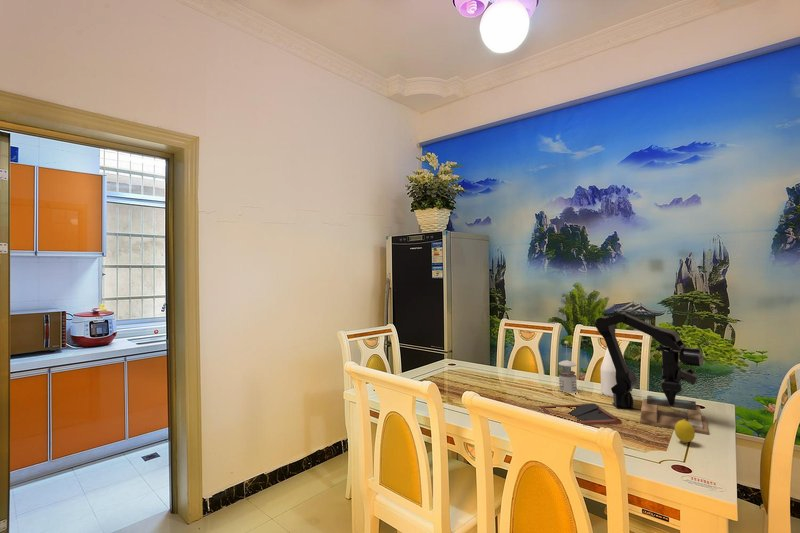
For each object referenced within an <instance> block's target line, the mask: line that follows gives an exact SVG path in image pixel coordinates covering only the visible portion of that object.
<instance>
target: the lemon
mask: <svg viewBox="0 0 800 533" xmlns="http://www.w3.org/2000/svg"><path fill="white" fill-rule="evenodd" d="M674 433H675V436H676V437H677V439H678V440H680V442H681V441H682V443H683V444H687V443H689V442H692V441H693V440H694V439H695V434H696V433H695V432H694V428H693V426H692V425H691V423H689V422H688V421H686V420H684V419H683V420H680V421H678V422H677V423H676V425H675V429H674Z"/></svg>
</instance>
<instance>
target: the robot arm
mask: <svg viewBox="0 0 800 533" xmlns="http://www.w3.org/2000/svg"><path fill="white" fill-rule="evenodd" d="M621 323H622V324H623V325H627V326H629V327H631V328H634V329H635V330H638V331H640V332H642V333H644V334H646V335H648V336H650V337H651V338H653V339H654V340H655V341H656V342H657V343H659V346H657V347H656V348H655V351H658V352H659V351H660V352H661V372H662V373H661V378H662V380H661V383H660V384H661V390H662V391H663V394H664V395H665V398H667V400H668V402H669V404H670V405H671V406H674V402H675V399H676V397H677V394H678V393H680V392H681V391H682V384H681V382H682V381H684V382H687V383H690V385H692V386H694V385H696V382H697V381H698V378H699V377H698V375H697V374H696V373H694V370H693V369H691V368H687V369H682V368H681V366H680V363H681V364H682V365H684V366H685V365H686V366H692V367H700V368H702V367H703V366H704V365H703V364H704V356H703V352H702V349H701V348H695V347H694V348H693V347H687V345H686V344H685V342H683V341H682V340H681V337H680V334H679V333H678V332H677V331H675V330H672V329H669V328H665V327H661V326H659V327H658V326H656V325H653V324H651V323H649V322H647V321H645V320H642V319H641V318H639V317H638V318H637V317H635V316H633V315H631V314H629V313H628V312H624V311H623V312H620V313H618V314H616V315H611V316H607V315H606V316H602V317H601V316H600V317H598V318H596V319H595V322H594V326H595V328H596V330H597V332H598V333H599V334H600V335H601V336H602V338H603V339H604V342H605V345H606V349H607V348H608V350H609V353H610V356H611V359H612V361H613V364H614V367H615V369H616V383H617V384H616V385H615V386H613V387H612V388H611V390H612V393H613V397H612V398H613V402H612V403H611V404H612V405H613V407H615V408H617V409H619V410H620V409H621V410H622V409H623V410H634V398H633V396H632V391H633V390H634V389H635V388H636V387H637V385H638V380H639V379H638V378H637V377H636V372H635V370H632V371H631V370H630V369H629V368H628V366H627V362H626V360H625V358H624V355H623V353H622V350H621V347H620V344H619V343H618V340H617V336H616V325H618V324H621Z"/></svg>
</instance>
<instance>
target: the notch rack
mask: <svg viewBox="0 0 800 533" xmlns="http://www.w3.org/2000/svg"><path fill="white" fill-rule="evenodd" d="M658 406H659V405H652V404H647V398H643V399H642V403H641V409H640V418H639V424H640V425H641V424H642V425H647V426H653V427H659V428H664V427H665V428H666V429H672V430H675V425H676V423H677V422H678V421H680V420H683V419H684V420H686V421H688V422H689V423H691V425H692V426H693V428H694V432H695V434H702V435H709V428H708V425H707V424H708V423H707V421H706V420H707V419H706V416H703V415H702V409H701V407H700V406H697V405H696V410H689V409H687V413H682V412H675V411H668V410H661V409H658V408H659V407H658Z"/></svg>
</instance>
